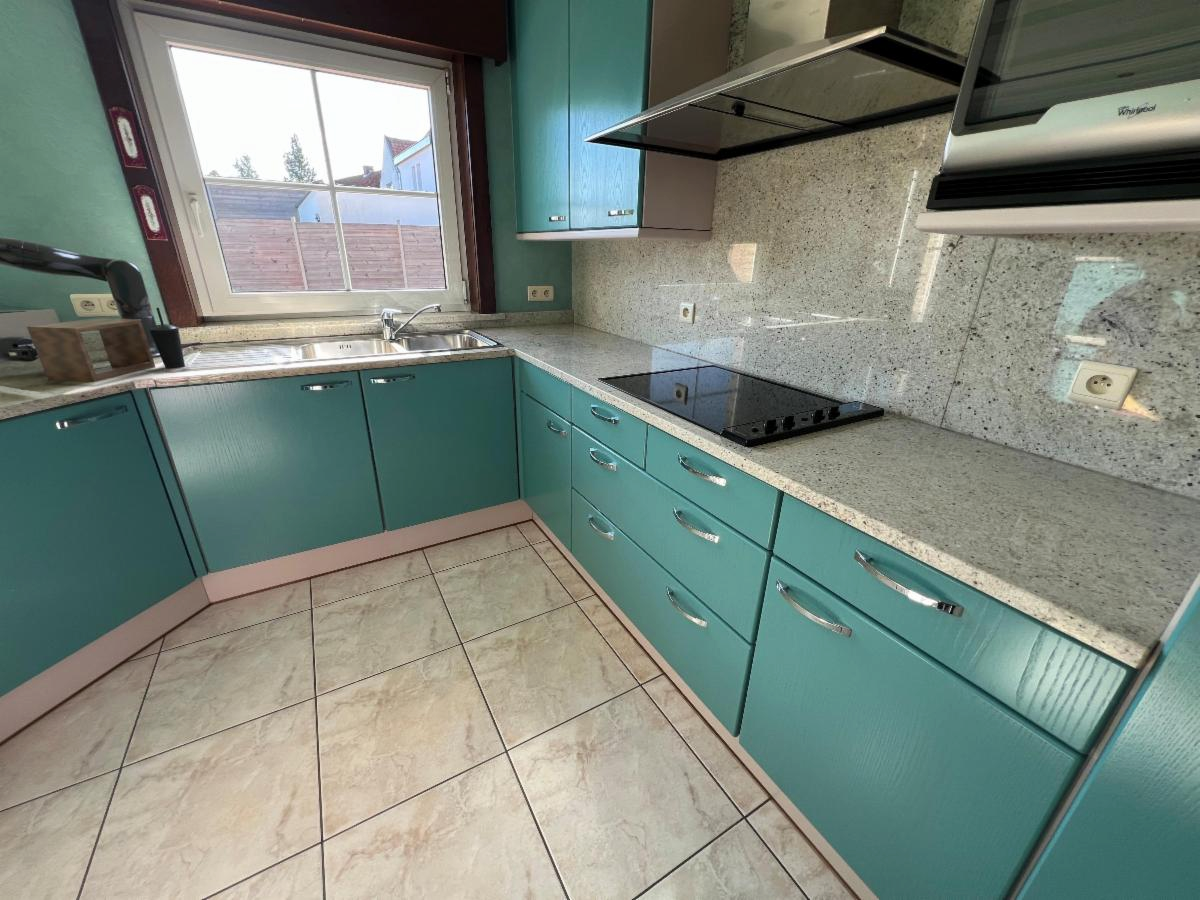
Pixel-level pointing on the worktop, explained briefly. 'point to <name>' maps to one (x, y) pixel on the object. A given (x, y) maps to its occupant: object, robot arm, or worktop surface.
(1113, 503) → the worktop surface
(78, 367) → the cabinet
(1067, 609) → the worktop surface
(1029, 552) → the worktop surface
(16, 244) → the robot arm
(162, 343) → the drinking cup
